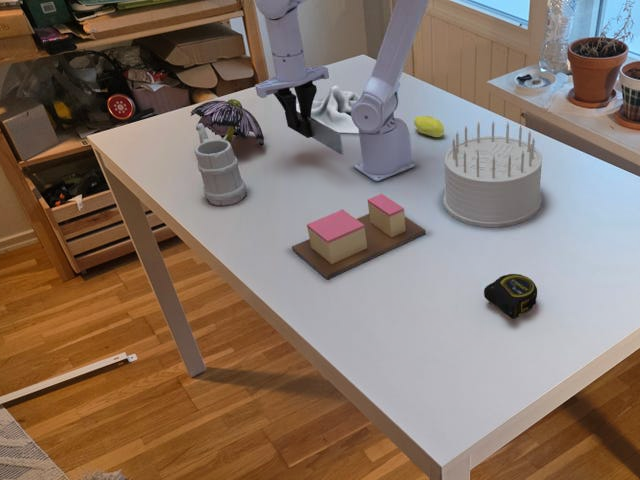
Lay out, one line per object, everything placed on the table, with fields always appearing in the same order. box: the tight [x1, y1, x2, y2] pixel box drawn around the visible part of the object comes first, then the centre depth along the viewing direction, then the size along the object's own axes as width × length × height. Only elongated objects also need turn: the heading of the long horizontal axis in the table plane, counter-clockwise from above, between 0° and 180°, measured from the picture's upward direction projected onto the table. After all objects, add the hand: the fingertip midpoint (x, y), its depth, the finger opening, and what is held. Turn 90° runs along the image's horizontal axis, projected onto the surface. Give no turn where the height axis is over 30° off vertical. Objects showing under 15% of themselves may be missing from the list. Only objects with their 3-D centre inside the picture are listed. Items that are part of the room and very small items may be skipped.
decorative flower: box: [190, 98, 265, 151], centre depth 134 cm, size 15×12×15 cm
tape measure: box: [483, 273, 538, 320], centre depth 96 cm, size 7×7×4 cm
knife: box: [284, 111, 344, 156], centre depth 124 cm, size 2×19×4 cm, turn 40°
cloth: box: [296, 85, 361, 135], centre depth 147 cm, size 22×19×6 cm
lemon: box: [413, 115, 445, 138], centre depth 139 cm, size 4×8×4 cm, turn 45°
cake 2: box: [442, 120, 543, 228], centre depth 115 cm, size 18×18×13 cm
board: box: [291, 213, 426, 280], centre depth 110 cm, size 20×11×1 cm, turn 130°
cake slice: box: [367, 193, 406, 237], centre depth 111 cm, size 3×6×4 cm, turn 39°
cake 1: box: [306, 209, 367, 264], centre depth 107 cm, size 7×6×4 cm
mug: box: [194, 123, 247, 207], centre depth 120 cm, size 8×12×12 cm, turn 33°
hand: (300, 124), depth 128 cm, fingers closed on knife, 2 cm apart
